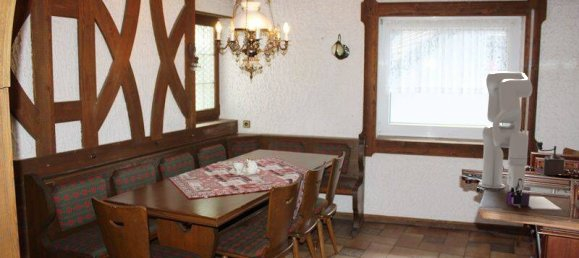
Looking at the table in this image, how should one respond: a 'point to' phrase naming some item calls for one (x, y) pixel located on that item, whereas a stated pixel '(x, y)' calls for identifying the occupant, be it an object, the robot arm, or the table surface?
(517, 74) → the robot arm
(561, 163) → the pepper mill
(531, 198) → the mat
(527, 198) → the purple block
